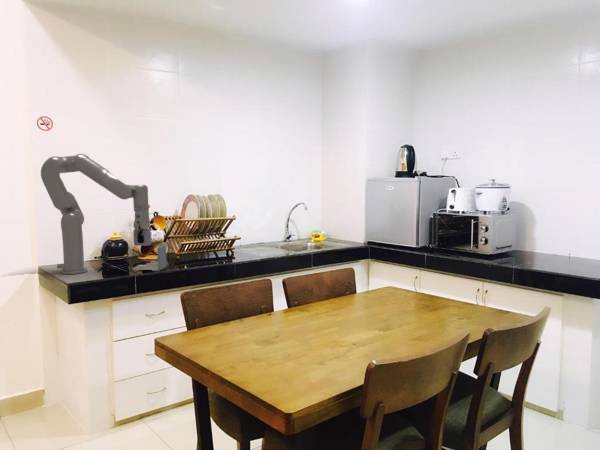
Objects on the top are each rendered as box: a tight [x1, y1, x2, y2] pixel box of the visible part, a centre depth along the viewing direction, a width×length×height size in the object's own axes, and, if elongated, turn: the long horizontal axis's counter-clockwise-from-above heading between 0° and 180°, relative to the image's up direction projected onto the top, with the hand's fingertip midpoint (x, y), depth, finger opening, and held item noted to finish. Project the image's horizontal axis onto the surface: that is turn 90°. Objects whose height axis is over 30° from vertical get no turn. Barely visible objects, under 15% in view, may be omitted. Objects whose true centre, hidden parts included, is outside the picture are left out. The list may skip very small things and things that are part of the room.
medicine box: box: [133, 228, 152, 247], centre depth 265 cm, size 8×4×9 cm, turn 84°
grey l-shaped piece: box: [131, 244, 168, 272], centre depth 266 cm, size 15×11×12 cm
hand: (142, 241), depth 266 cm, fingers closed on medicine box, 4 cm apart
